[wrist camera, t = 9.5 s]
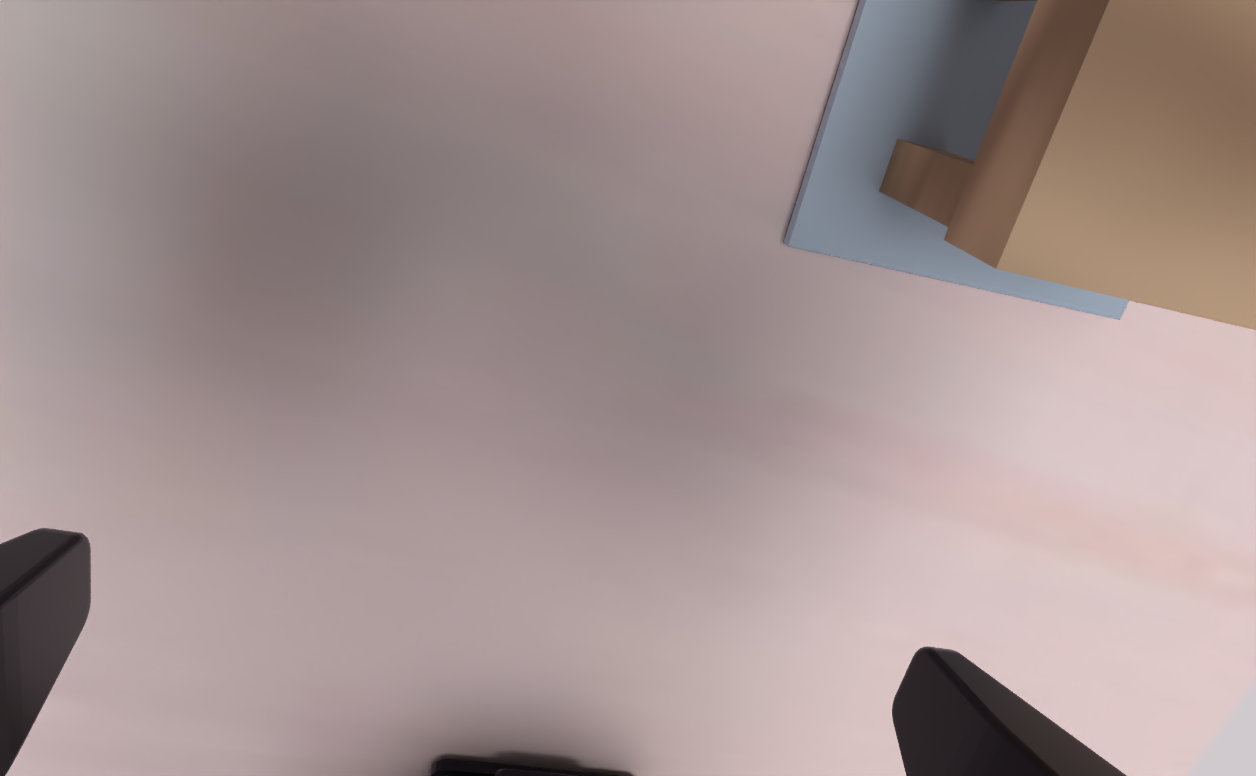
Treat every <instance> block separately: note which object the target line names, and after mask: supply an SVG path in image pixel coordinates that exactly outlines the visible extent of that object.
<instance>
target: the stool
mask: <svg viewBox="0 0 1256 776" xmlns="http://www.w3.org/2000/svg"><path fill="white" fill-rule="evenodd" d="M999 1H1033V0H999ZM879 192H881V193H883V194H885V195H887V196H889V197H891V198H893V199H895V200H897V201H898V202H900V203H902V204H904V205H906V206H908V207H910V208H912V209H914V210H916V211H918V212H920V213H922V214H924V215H926V216H927V217H929V218H931V219H933V220H935V221H937V222H939V223H941V224H943V225H945V226H947V227H948V230H947V232H946V235H945V237H944V240H945V241H947V242H948V243H950V244H952V245H954V246H956V247H957V248H959V249H961V250H963V251H965V252H966V253H968V254H970V255H972V256H974V257H975V258H977V259H979V260H981V261H983V262H984V263H986V264H988V265H990V266H992V267H993V268H995V269H998V270H1003V271H1007V272H1011V273H1015V274H1020V275H1024V276H1028V277H1032V278H1037V279H1041V280H1045V281H1049V282H1054V283H1058V284H1062V285H1066V286H1071V287H1075V288H1079V289H1084V290H1088V291H1092V292H1096V293H1101V294H1105V295H1109V296H1113V297H1118V298H1122V299H1126V300H1130V301H1135V302H1139V303H1143V304H1147V305H1152V306H1156V307H1160V308H1164V309H1169V310H1173V311H1177V312H1181V313H1186V314H1190V315H1194V316H1199V317H1203V318H1207V319H1211V320H1216V321H1220V322H1224V323H1228V324H1233V325H1237V326H1241V327H1245V328H1250V329H1254V330H1256V0H1037V3H1036V5H1035V8H1034V11H1033V13H1032V16H1031V18H1030V21H1029V23H1028V26H1027V28H1026V31H1025V34H1024V36H1023V39H1022V41H1021V44H1020V46H1019V49H1018V51H1017V54H1016V56H1015V59H1014V62H1013V64H1012V67H1011V69H1010V72H1009V74H1008V77H1007V79H1006V82H1005V84H1004V87H1003V90H1002V92H1001V95H1000V97H999V100H998V102H997V105H996V107H995V110H994V112H993V115H992V118H991V120H990V123H989V125H988V128H987V130H986V133H985V135H984V138H983V141H982V143H981V146H980V148H979V151H978V153H977V156H976V158H975V161H973V160H970V159H967V158H964V157H961V156H958V155H955V154H952V153H949V152H946V151H942V150H938V149H934V148H930V147H927V146H923V145H919V144H915V143H911V142H907V141H904V140H900V139H897V142H896V145H895V147H894V150H893V153H892V156H891V159H890V161H889V164H888V167H887V170H886V173H885V175H884V178H883V181H882V184H881V187H880V190H879Z"/></svg>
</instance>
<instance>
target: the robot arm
mask: <svg viewBox="0 0 1256 776" xmlns="http://www.w3.org/2000/svg"><path fill="white" fill-rule="evenodd" d="M90 602H91V564H90V543H89V540H88V538H87V537H86V536H85V535H84V534H82V533H78V532H71V531H63V530H56V529H48V528H41V529H37V530H34V531H31V532H28V533H26V534H24V535H21V536H19V537H16V538H14V539H11V540H9V541H6V542H4V543H2V544H0V776H5V775H6V773H7V772H8V770H9V769H10V767H11V765H12V763H13V762H14V760H15V758H16V756H17V754H18V752H19V751H20V749H21V747H22V745H23V743H24V741H25V739H26V738H27V736H28V734H29V732H30V730H31V728H32V726H33V724H34V722H35V720H36V718H37V716H38V714H39V712H40V710H41V708H42V707H43V705H44V703H45V701H46V699H47V697H48V695H49V693H50V691H51V689H52V687H53V685H54V683H55V681H56V679H57V677H58V676H59V674H60V672H61V670H62V668H63V666H64V664H65V662H66V660H67V658H68V656H69V654H70V652H71V650H72V648H73V646H74V645H75V643H76V641H77V639H78V637H79V635H80V633H81V631H82V629H83V627H84V625H85V622H86V620H87V617H88V613H89V609H90ZM892 716H893V723H894V727H895V731H896V735H897V739H898V743H899V747H900V751H901V755H902V760H903V764H904V768H905V772H906V776H1126V775H1125V774H1124V773H1122V772H1121V771H1120V770H1118V769H1117V768H1115V767H1114V766H1113V765H1111V764H1110V763H1109V762H1107V761H1106V760H1105V759H1103V758H1102V757H1100V756H1099V755H1098V754H1096V753H1095V752H1094V751H1092V750H1091V749H1089V748H1088V747H1087V746H1085V745H1084V744H1083V743H1081V742H1080V741H1079V740H1077V739H1076V738H1074V737H1073V736H1072V735H1070V734H1069V733H1068V732H1066V731H1065V730H1064V729H1062V728H1061V727H1059V726H1058V725H1057V724H1055V723H1054V722H1053V721H1051V720H1050V719H1049V718H1047V717H1046V716H1044V715H1043V714H1042V713H1040V712H1039V711H1038V710H1036V709H1035V708H1034V707H1032V706H1031V705H1029V704H1028V703H1027V702H1025V701H1024V700H1023V699H1021V698H1020V697H1019V696H1017V695H1016V694H1014V693H1013V692H1012V691H1010V690H1009V689H1008V688H1006V687H1005V686H1004V685H1002V684H1001V683H999V682H998V681H997V680H995V679H994V678H993V677H991V676H990V675H989V674H987V673H986V672H984V671H983V670H982V669H980V668H979V667H978V666H976V665H975V664H974V663H972V662H971V661H969V660H968V659H967V658H965V657H964V656H963V655H961V654H960V653H958V652H956V651H954V650H950V649H942V648H935V647H923V648H920V649H919V650H918V651H917V652H916V653H915V655H914V656H913V658H912V661H911V663H910V665H909V667H908V669H907V671H906V674H905V676H904V678H903V680H902V682H901V684H900V687H899V689H898V691H897V693H896V695H895V698H894V702H893V708H892ZM429 776H617V775H607V774H597V773H587V772H576V771H566V770H556V769H545V768H535V767H525V766H515V765H504V764H494V763H484V762H474V761H463V760H453V759H442V760H440V761H437V762H435V763H434V764H433V765H432V767H431V769H430V772H429Z"/></svg>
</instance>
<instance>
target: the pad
mask: <svg viewBox="0 0 1256 776" xmlns="http://www.w3.org/2000/svg"><path fill="white" fill-rule="evenodd" d="M1036 3H1037V0H1033V1H999V0H860V1H859V4H858V7H857V10H856V13H855V17H854V20H853V23H852V26H851V29H850V32H849V36H848V39H847V42H846V45H845V48H844V52H843V55H842V58H841V61H840V64H839V68H838V71H837V74H836V77H835V80H834V83H833V87H832V90H831V93H830V96H829V99H828V103H827V106H826V109H825V112H824V115H823V118H822V122H821V125H820V128H819V131H818V134H817V138H816V141H815V144H814V147H813V150H812V153H811V157H810V160H809V163H808V166H807V169H806V173H805V176H804V179H803V182H802V185H801V189H800V192H799V195H798V198H797V201H796V204H795V208H794V211H793V214H792V217H791V220H790V224H789V227H788V230H787V233H786V236H785V239H784V243H785V244H786V245H787V246H789V247H794V248H798V249H803V250H807V251H812V252H816V253H821V254H825V255H830V256H834V257H839V258H843V259H848V260H852V261H857V262H861V263H866V264H870V265H875V266H879V267H884V268H888V269H893V270H897V271H902V272H906V273H911V274H915V275H920V276H924V277H929V278H933V279H938V280H942V281H947V282H951V283H956V284H960V285H965V286H969V287H974V288H978V289H983V290H987V291H992V292H996V293H1001V294H1005V295H1010V296H1014V297H1019V298H1023V299H1028V300H1032V301H1037V302H1041V303H1046V304H1050V305H1055V306H1059V307H1064V308H1068V309H1073V310H1077V311H1082V312H1086V313H1091V314H1095V315H1100V316H1104V317H1109V318H1113V319H1118V320H1120V318H1121V316H1122V314H1123V312H1124V310H1125V308H1126V306H1127V304H1128V302H1129V300H1126V299H1122V298H1118V297H1113V296H1109V295H1105V294H1101V293H1096V292H1092V291H1088V290H1084V289H1079V288H1075V287H1071V286H1066V285H1062V284H1058V283H1054V282H1049V281H1045V280H1041V279H1037V278H1032V277H1028V276H1024V275H1020V274H1015V273H1011V272H1007V271H1003V270H998V269H995V268H993V267H992V266H990V265H988V264H986V263H984V262H983V261H981V260H979V259H977V258H975V257H974V256H972V255H970V254H968V253H966V252H965V251H963V250H961V249H959V248H957V247H956V246H954V245H952V244H950V243H948V242H947V241H945V240H944V237H945V235H946V232H947V230H948V227H947V226H945V225H943V224H941V223H939V222H937V221H935V220H933V219H931V218H929V217H927V216H926V215H924V214H922V213H920V212H918V211H916V210H914V209H912V208H910V207H908V206H906V205H904V204H902V203H900V202H898V201H897V200H895V199H893V198H891V197H889V196H887V195H885V194H883V193H881V192H879V190H880V187H881V184H882V181H883V178H884V175H885V173H886V170H887V167H888V164H889V161H890V159H891V156H892V153H893V150H894V147H895V145H896V142H897V139H900V140H904V141H907V142H911V143H915V144H919V145H923V146H927V147H930V148H934V149H938V150H942V151H946V152H949V153H952V154H955V155H958V156H961V157H964V158H967V159H970V160H973V161H975V158H976V156H977V153H978V151H979V148H980V146H981V143H982V141H983V138H984V135H985V133H986V130H987V128H988V125H989V123H990V120H991V118H992V115H993V112H994V110H995V107H996V105H997V102H998V100H999V97H1000V95H1001V92H1002V90H1003V87H1004V84H1005V82H1006V79H1007V77H1008V74H1009V72H1010V69H1011V67H1012V64H1013V62H1014V59H1015V56H1016V54H1017V51H1018V49H1019V46H1020V44H1021V41H1022V39H1023V36H1024V34H1025V31H1026V28H1027V26H1028V23H1029V21H1030V18H1031V16H1032V13H1033V11H1034V8H1035V5H1036Z"/></svg>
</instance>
